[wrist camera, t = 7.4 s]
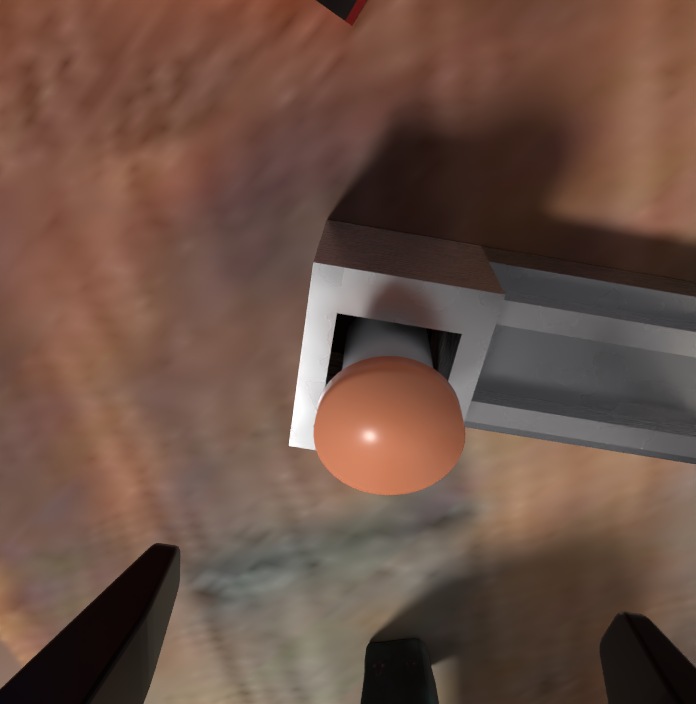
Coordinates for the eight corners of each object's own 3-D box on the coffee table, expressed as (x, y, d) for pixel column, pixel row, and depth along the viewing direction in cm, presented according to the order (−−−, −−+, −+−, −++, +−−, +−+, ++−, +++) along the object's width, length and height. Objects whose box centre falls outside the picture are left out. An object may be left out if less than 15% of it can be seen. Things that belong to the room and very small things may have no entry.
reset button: (457, 301, 17) (483, 387, 12) (430, 399, 18) (444, 505, 14) (338, 281, 16) (324, 361, 12) (322, 382, 18) (304, 482, 14)
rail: (1054, 344, 18) (1233, 423, 14) (933, 480, 21) (1055, 575, 17) (326, 219, 18) (311, 267, 14) (304, 377, 21) (286, 454, 17)
